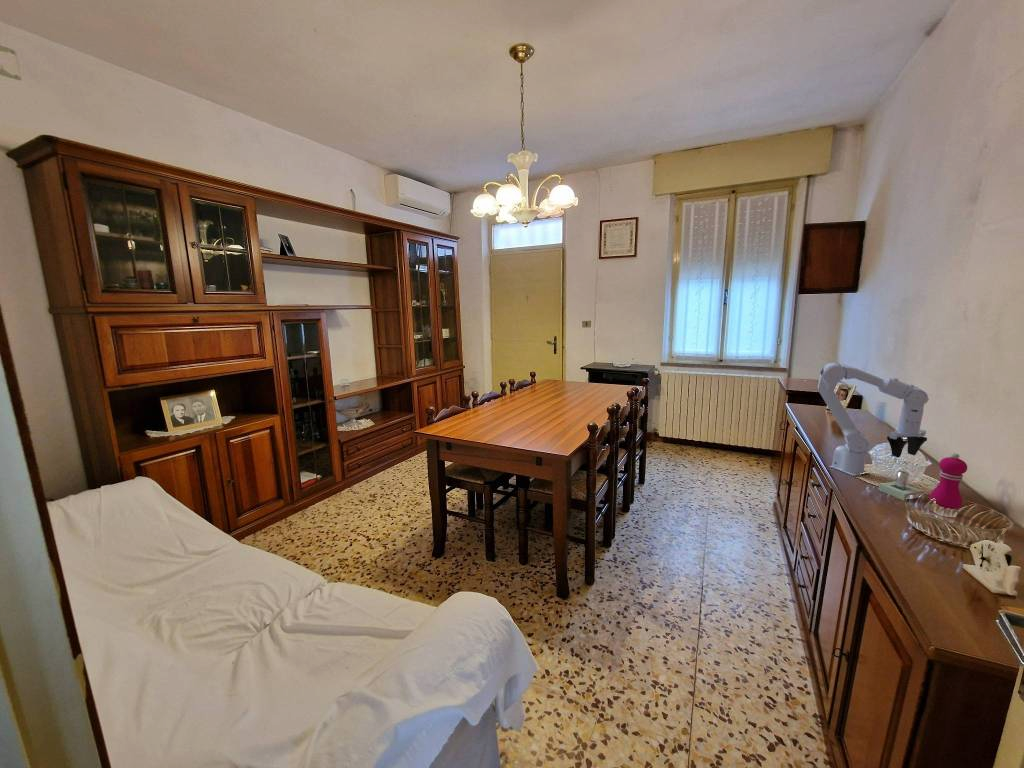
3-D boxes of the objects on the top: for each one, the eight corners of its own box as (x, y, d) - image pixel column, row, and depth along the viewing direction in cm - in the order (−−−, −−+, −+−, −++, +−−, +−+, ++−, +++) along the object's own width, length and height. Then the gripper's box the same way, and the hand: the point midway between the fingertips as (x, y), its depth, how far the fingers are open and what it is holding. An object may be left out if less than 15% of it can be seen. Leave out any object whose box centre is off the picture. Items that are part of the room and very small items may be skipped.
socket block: (878, 490, 147) (879, 483, 146) (895, 487, 148) (896, 481, 148) (903, 500, 139) (905, 493, 139) (921, 497, 141) (923, 491, 140)
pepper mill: (935, 516, 129) (947, 456, 125) (921, 505, 136) (933, 448, 132) (965, 520, 127) (979, 459, 123) (950, 509, 133) (963, 450, 129)
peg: (891, 492, 145) (895, 471, 143) (897, 491, 146) (901, 470, 144) (901, 496, 142) (905, 474, 140) (906, 495, 143) (911, 473, 141)
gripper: (907, 425, 145) (900, 461, 148) (938, 421, 148) (931, 457, 151) (885, 419, 152) (879, 454, 155) (915, 416, 155) (909, 450, 158)
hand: (903, 455), depth 153 cm, fingers open, 7 cm apart
